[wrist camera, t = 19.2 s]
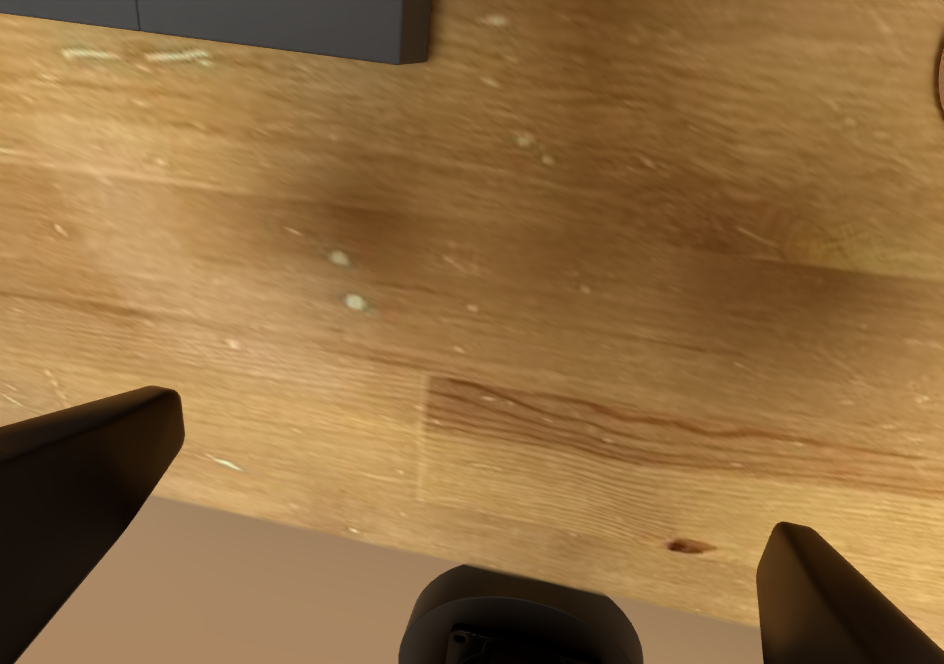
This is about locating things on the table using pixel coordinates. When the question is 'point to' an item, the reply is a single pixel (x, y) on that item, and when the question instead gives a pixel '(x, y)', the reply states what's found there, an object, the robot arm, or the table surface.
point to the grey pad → (262, 23)
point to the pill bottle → (941, 80)
